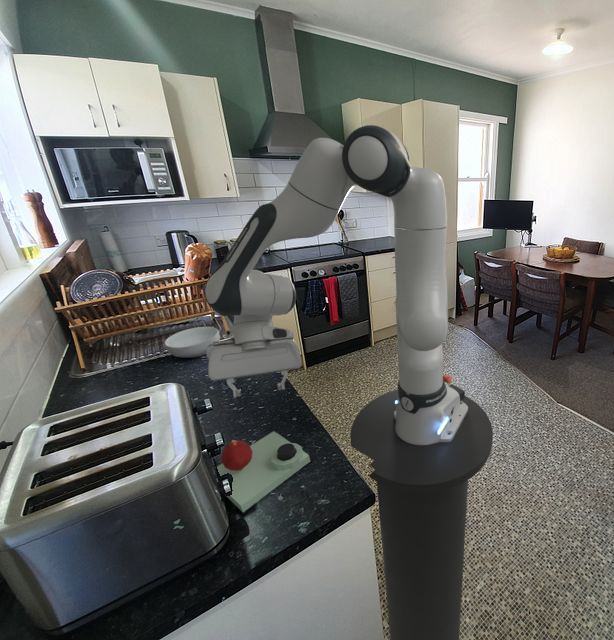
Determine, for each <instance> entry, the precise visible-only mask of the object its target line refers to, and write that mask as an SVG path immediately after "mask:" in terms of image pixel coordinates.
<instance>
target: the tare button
mask: <svg viewBox="0 0 614 640" xmlns="http://www.w3.org/2000/svg"><path fill="white" fill-rule="evenodd" d="M290 443H291V442H290ZM290 443H287V444H284V445H282V446H280V447H279V448H278V450H277V453H278V458H279V460H281V461H286V460H290V459H291V458H293V457H294V456H295V448H294V445H293V444H290Z"/></svg>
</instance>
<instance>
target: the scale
mask: <svg viewBox="0 0 614 640" xmlns="http://www.w3.org/2000/svg"><path fill="white" fill-rule="evenodd" d="M287 443H290V444H293V445H294V448H295V456H294V457H293V458H291V459H290V460H286V461H281V460H279V458H278V453H277V450H278V448H279V447H280V446H282V445H284V444H287ZM249 446H250V447H251V449H252V459H251V461H250V462H249V463H248V465H246V466H245V467H244V468H243V469H242V470H237V471H234V470H229V469H227V468H225V466H224V465H223V463H222V462H221V463H220V464H218V465H217V466H216V467H217V469H218V472H219V474H220V476H222V475H224V474H227V473H229V474H231V475H232V477H233V482H232V490H233V491H232V495H230V496H226V498H228V500H230V501H231V502H232V503H233V505H234V506H236V507H237V509H238V510H240V511H241V512H242V513H245V512H246V511H247V510H249V509H250V508H252V507H253V506H254V505H255V504H256V503H258V502H259V501H260V500H263V498H264V497H266V496H267V495H268V494H269V493H271V492H272V491H274V490H275V489H276V488H277V487H279V486H280V485H281V484H282V483H284V482H286V481H287V480H288V479H289V478H290V477H292V476H293V475H294V474H296V473H297V472H298V471H300V470H301V469H303V467H305V466H306V465H307V464H309V463H311V458H310V455H309V454H308V453H307V452H305V451H304V450H303V447H302V446H301V445H299V444H298V443H293V442H290V441H289V440H288V439H286V438H285V437H283V436H282V435H280V434H279V433H277V432H276V431H275V430H273V431H271V432H270V433H268V434H267V435H265V436H264V437H262V438H260V439H259V440H257V441H256V442H254V443H253V444H251V445H249Z"/></svg>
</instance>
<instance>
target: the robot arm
mask: <svg viewBox="0 0 614 640" xmlns="http://www.w3.org/2000/svg"><path fill="white" fill-rule="evenodd" d="M357 186H358V187H360V188H361V189H363V190H366V191H368V192H372V193H375V194H377V195H379V196H384V197H387V198H390V200H391V202H392V207H393V230H394V231H393V232H394V236H393V237H394V267H395V268H394V269H395V292H396V294H395V295H396V296H395V319H396V320H395V321H396V339H397V340H396V341H397V342H396V343H397V355H398V356H397V358H398V381H397V389H398V394H397V400H396V401H395V403H397V406H396V411H394V418H395V420H396V424H395V430H396V433H397V435H398V436H399V437H400V438H401V439H402V440H403V441H405V442H407V443H410V444H414V445H430V444H434V443H438V442H451V441H452V439H453V438H454V436H455V434H456V432H457V430H458V428H459V426H460V424H461V423H462V421H463V419H464V417H465V415H466V413H467V411H468V406H467V405H466V404H465V403H464V402H463V401H461V400H463V399H464V398H465V396H466V391H465V390H464V389H462V388H460V387H458V386H456V385H454V384H453V383H452V381H453V377H452V376H451V375H447V374H444V350H443V343H444V342H445V341H446V339H447V337H448V334H449V298H448V281H447V280H448V279H447V277H448V276H447V238H448V237H447V234H448V208H447V206H448V205H447V195H446V189H445V182H444V180H443V177H442V176H441V175H440V174H439V173H438V172H436V171H435V170H432V169H430V168H426V167H418V166H415V165H412V164H411V162H410V155H409V152H408V149H407V147H406V146H405V144H404V143H403V141H402V140H401V139H400V138H399V137H398V136H397V135H396V134H395V133H394V132H392V131H390V130H388V129H386V128H383V127H382V126H379V125H374V124H373V125H372V124H369V125H367V124H366V125H363V126H360V127H358V128H356V129H354V130H353V131H352V132H351V133H350V134H349V135H348V136H347V138H346V139H345V141H344V144H343V143H341V142H339V141H337V140H335V139H333V138H329V137H316V138H314V139H313V140H311V141H310V142H309V144H308V145H307V146H306V148H305V149H304V151H303V153H302V154H301V156H300V157H299V159H298V161H297V162H296V164H295V166H294V168H293V170H292V172H291V175H290V176H289V179H288V182H287V183H286V185H285V187H284V188H283V190H282V191H281V192H280V193H279V194H278V195H277V196H276V197H275V198H274V199H273V200H271V201H269V202H268V203H264V204H262V205H259V206H258V207H257V209H255V211H254V212H253V214H252V215H251V217H250V218H249V219H248V221H247V222H246V224H245V225H244V227H243V229H242V230H241V232H240V234H239V235H238V236H237V238H236V239H235V241H234V243H233V245H232V246H231V248H230V250H229V251H228V253H227V254H226V256H225V257H224V259H223V260H222V262H221V263H220V265H219V266H218V267H216V269H215V270H214V271H213V272H212V273H211V275H210V276H209V277H208V279H207V281H206V283H205V288H204V298H205V301H206V303H207V305H208V306H209V307H210V308H211V309H213V311H214V312H216V313H217V314H218V315H220V316H222V317H233V322H232V329H233V330H232V331H233V332H232V333H233V339H232V338H231V339H225V340H219V341H215V342H213V343H212V344H210V345H209V346H208V347H207V349H206V354H205V356H206V358H207V360H208V364H207V365H208V366H207V377H208V378H209V380H211V381H212V382H220V381H225V380H226V385H227V386H228V387H229V388H230V390H232V395H233V398H234V399H236V398H242V397H243V393H242V392H243V391H242V389H240V388H239V389H237V387H236V386H235V385H234V384H236V379H239V378H245V377H246V378H247V377H251V376H258V375H266V374H267V375H268V374H273V373H278V372H281V376H283V377H282V379H281V381H280V382H277V383H276V384H277V391H278V392H280V391H284V390H286V386H285V383H286V382H287V381H286V380H287V378H288V376H289V371H292V370H299V369H301V367H302V366H303V360H302V356H301V352H300V349H299V345H298V343H297V342H296V341H295V340H294V333H293V331H292V330H291V329H288V328H284V327H277V326H274V321H273V317H274V316H275V317H277V316H278V317H279V316H283V315H287V314H288V313H290V312H291V311H292V310H293V308H294V307H295V306H296V303H297V291H296V288H295V285H294V283H293V282H292V281H291V279H290V278H289V277H286V276H282V275H278V274H269V273H264V272H263V271H261V270H259V269H254V268H255V266H256V265H257V263H258V262H259V260H260V259H261V258H262V255H263V254H264V252H265V251H266V250H267V249H268V248H270V247H271V246H273V245H275V244H278V243H280V242H284V241H289V240H295V239H297V240H298V239H307V238H309V239H310V238H313V237H317V236H319V235H322V234H323V233H326V232H327V231H328V230H329V229H330V227H332V225H333V223H334V222H335V221H336V219H337V216H338V214H339V212H340V210H341V208H342V206H343V204H344V202H345V200H346V198H347V196H348V194H349V193H350V191H351V190H353V188H355V187H357ZM212 345H213V346H212ZM210 346H211V347H210ZM446 384H448V385H446Z"/></svg>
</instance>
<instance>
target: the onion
mask: <svg viewBox="0 0 614 640" xmlns="http://www.w3.org/2000/svg"><path fill="white" fill-rule="evenodd" d="M250 446H251V445H250V444H249V443H247V442H246V441H244V440H239V439H237V440H236V439H232V440H231V441H230V442H229V443H228V444H227V445H226V446H225V447H224V449H223V451H222V453H221V459H220V460H221V464H222V463H223V465H224V466H225V468H227V469H229V470H234V471H237V470H242V469H243V468H244V467H245V466H246V465H248V463H249V462H250V461H251V459H252V449H251V447H250Z"/></svg>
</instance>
